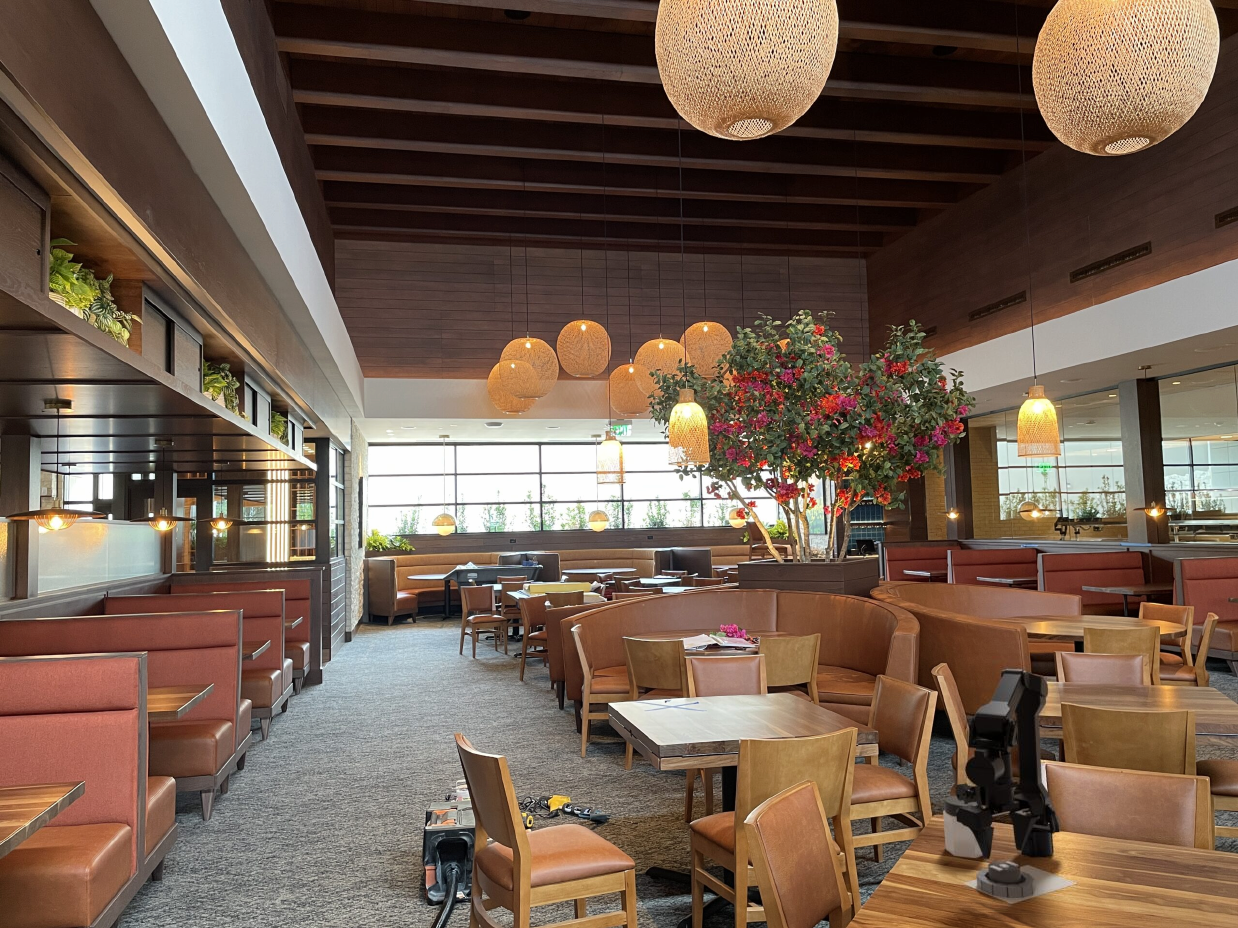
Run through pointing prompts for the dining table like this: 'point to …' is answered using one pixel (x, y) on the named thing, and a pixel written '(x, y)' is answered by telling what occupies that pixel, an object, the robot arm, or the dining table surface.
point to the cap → (1004, 872)
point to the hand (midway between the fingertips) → (1003, 854)
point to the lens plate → (1020, 885)
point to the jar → (959, 831)
